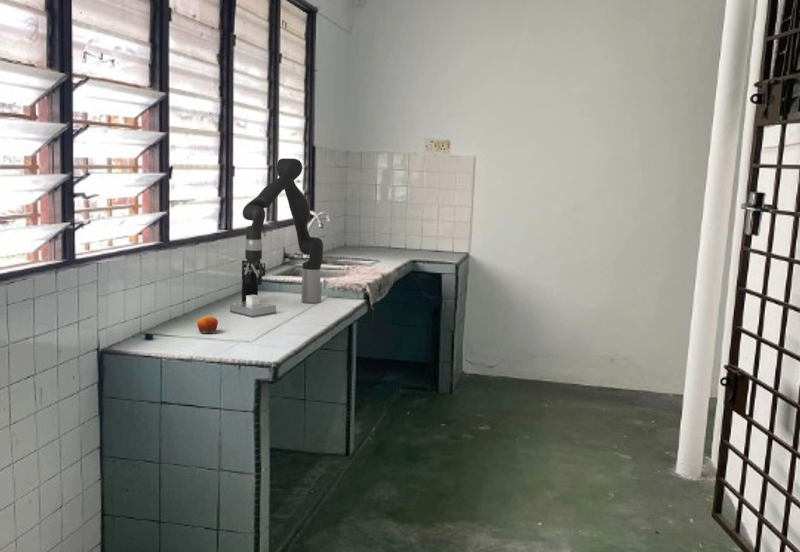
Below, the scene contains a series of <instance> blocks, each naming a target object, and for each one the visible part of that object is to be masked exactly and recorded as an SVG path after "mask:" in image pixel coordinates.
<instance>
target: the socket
mask: <svg viewBox="0 0 800 552" xmlns="http://www.w3.org/2000/svg"><path fill="white" fill-rule="evenodd" d="M276 305H277V304H273V303H272V304H271V303H267V302H262V301H260V305H257V306H249V305H246V301H245V302H242V301H240V302H233V303H229V313H232V314H236V315H240V316H243V315H244V317H248V318H252V319H253V318H258V317H265V316H270V315H276V314H277V306H276Z"/></svg>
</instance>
